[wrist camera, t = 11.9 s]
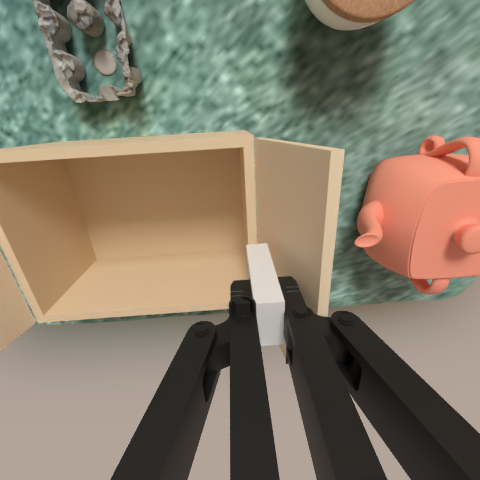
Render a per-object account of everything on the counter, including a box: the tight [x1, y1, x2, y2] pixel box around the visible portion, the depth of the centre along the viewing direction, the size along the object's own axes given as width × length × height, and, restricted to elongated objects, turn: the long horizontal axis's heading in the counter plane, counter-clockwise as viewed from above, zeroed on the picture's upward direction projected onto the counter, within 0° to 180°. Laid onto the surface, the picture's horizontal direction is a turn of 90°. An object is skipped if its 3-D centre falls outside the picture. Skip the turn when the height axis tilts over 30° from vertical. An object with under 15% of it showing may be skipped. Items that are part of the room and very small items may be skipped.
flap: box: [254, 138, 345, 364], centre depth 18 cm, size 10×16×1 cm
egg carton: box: [33, 0, 142, 103], centre depth 25 cm, size 11×8×4 cm
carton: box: [0, 130, 257, 323], centre depth 28 cm, size 22×16×12 cm
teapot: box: [355, 136, 480, 294], centre depth 29 cm, size 15×17×13 cm
